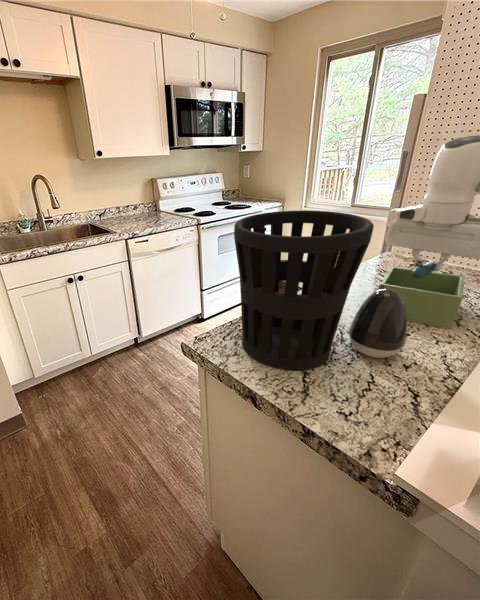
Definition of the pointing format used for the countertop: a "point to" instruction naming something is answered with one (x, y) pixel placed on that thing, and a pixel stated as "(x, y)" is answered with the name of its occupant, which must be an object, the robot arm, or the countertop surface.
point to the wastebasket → (296, 283)
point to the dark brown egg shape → (380, 324)
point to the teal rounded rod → (422, 270)
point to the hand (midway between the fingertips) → (426, 267)
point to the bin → (427, 295)
